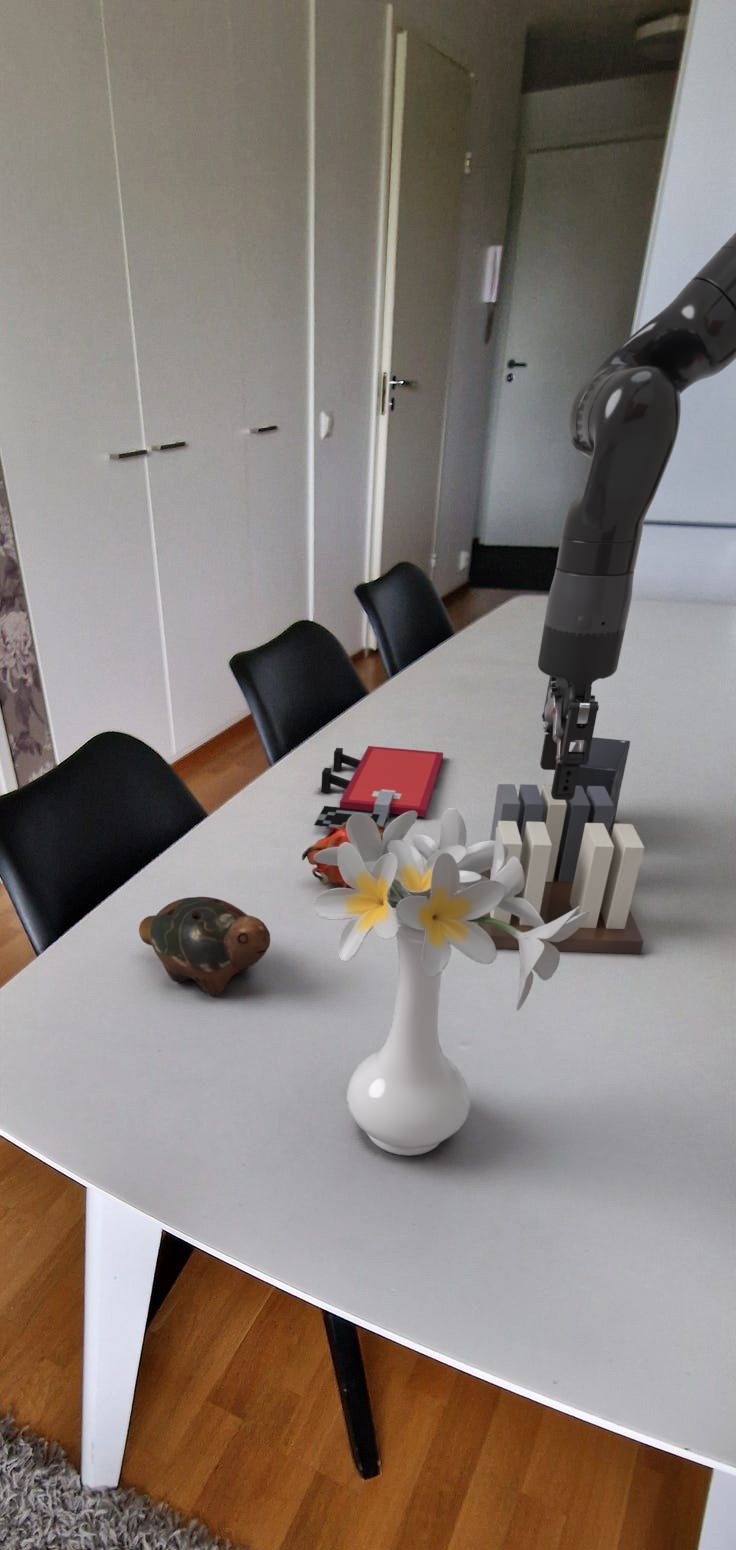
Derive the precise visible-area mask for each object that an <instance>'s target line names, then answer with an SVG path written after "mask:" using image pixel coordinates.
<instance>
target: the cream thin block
mask: <svg viewBox="0 0 736 1550" xmlns="http://www.w3.org/2000/svg"><path fill="white" fill-rule="evenodd" d="M551 790H552V784H542V787H541V792H540V796H541V799H542V801H543V804H544V805H543V811H542V816H541V822H545V825H546V829H547V832H548V835H549V838H550V841H551V844H552V848H551V854H550V859H549V865H548V870H547V876H546V882H553V878H554V872H555V867H556V862H557V856H558V851H559V845H560V840H561V835H562V829H563V824H564V819H565V813H566V808H567V804H566V801H565V800H555V799H553V798H552V795H551Z"/></svg>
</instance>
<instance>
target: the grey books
mask: <svg viewBox="0 0 736 1550" xmlns="http://www.w3.org/2000/svg"><path fill="white" fill-rule="evenodd" d="M565 801H566V804H567V808H566V813H565V819H564V824H563V829H562V835H561V840H560V845H559V851H558V856H557V862H556V867H555V872H556V876H557V879H558V882H574V877H575V872H576V867H577V862H578V857H579V852H580V848H581V843H582V838H583V833H584V828H585V823H604V825H605V828H606V830H607V832H608V833H609V828H610V823H611V819H612V814H613V810H614V805H613V803H612V801H611V799H610V797H609V794H608V792H607V790H606V788H605V786H588V787H587V792H586V794H585V792H584V790H583V787H582V786H576V788H575V793H574V797H573V798H572V799H571V800H565ZM543 805H544V804H543V801H542V799H541V792H540V790H539V787H538V785H537V784H523V783H522V784H520V785H519V790H518V792H517V789H516V785H515V784H514V783H498V784H497V788H496V796H495V802H494V809H493V810H494V811H493V818H492V825H491V831H490V832H491V833H490V839H489V841H495V836H496V827H498V821H516V823H517V827H518V830H519V834H520V838H521V841H522V846H523V840H524V834H525V828H526V822H541V816H542V811H543ZM609 834H610V833H609ZM521 853H522V850H521ZM520 859H521V856H520ZM491 869H492V868H491ZM491 869H490V872H491Z"/></svg>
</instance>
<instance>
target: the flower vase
mask: <svg viewBox="0 0 736 1550" xmlns="http://www.w3.org/2000/svg"><path fill="white" fill-rule="evenodd" d="M441 817H442V818H441V822H440V830H439V831H440V834H439V842H437V841H436V840H435V839H434V838H433V837H431V836H429V835H426V834H422V833H419V834H415V835H414V836H413V837H412V844H411V843H410V842H407V841H405V840H403V839H404V838H405V837H406V835H408V832H409V831H410V830H411V828H412V827H413V825H414V824H415V822H416V820H417V818H418V816H417V812H416V811H408V812H406V813H404V814H399V816H396V817H395V818H394V819H393V820H392V821H391V822H390V823H388V825H387V826H386V828H384V829H385V831H384V833H383V839H382V840H381V837H380V833H379V830H378V827H377V826H376V823H375V822H374V820H373V819H372V818H371V817H370V816H368V815H367V814H364V813H356V814H353V815H351V817H349V819H348V821H347V825H346V832H347V836H348V839H349V841H350V843H351V844H350V843H348V842H344V843H342V844H341V845H340V847H332V848H328V849H324V850H322V851H320V852H318V853H317V854H315V855H314V860H315V861H316V862H318V863H322V864H328V865H335V866H338V867H339V870H340V873H341V875H342V878H343V879H344V881H345V882H346V883H347V884H348V885H349V886H350V887H352V888H354V889H349V888H344V887H336V888H335V887H334V888H330V889H326V890H324V891H322V892H321V893H320V894H318V895H317V896H316V897H315V899H314V900H313V902H312V910H313V912H314V913H315V915H316V916H318V917H319V918H322V919H325V920H330V921H331V920H332V921H339V920H349V921H347V922H346V923H345V924H344V926H343V928H342V929H341V932H340V935H339V939H338V944H337V953H338V957H339V959H340V961H342V962H345V963H346V962H349V961H350V960H352V959H353V958H354V957H355V956H356V954H357V953H358V952H359V950H360V948H361V946H362V944H363V943H364V941H365V939H366V937H367V936H368V934H369V933H370V932H371V931H373V933H374V934H375V935H376V936H378V938H381V939H384V940H391V939H393V938H395V937H396V944H397V953H398V974H397V976H398V977H397V985H396V991H395V992H396V993H395V1001H394V1009H393V1017H392V1021H391V1025H390V1030H389V1033H388V1035H387V1038H386V1039H385V1042H384V1043H383V1045H382V1046H381V1047H380V1048H379V1049H378V1050H376V1051H374V1052H373V1053H371V1054H369V1055H368V1056H367V1057H365V1059H363V1060H362V1061H361V1062H360V1063H359V1064H358V1065H357V1066H356V1067H355V1068H354V1071H353V1073H352V1074H351V1077H350V1079H349V1081H348V1083H347V1087H346V1098H345V1099H346V1101H345V1102H346V1105H347V1108H348V1112H349V1113H350V1116H351V1117H352V1119H353V1120H354V1121H355V1123H356V1124H357V1125H358V1127H359V1128H360V1129H361V1130H362V1131H363V1132H365V1133H366V1135H367V1136H368V1138H369V1139H370V1141H371V1142H372V1143H373V1144H375V1145H376V1146H377V1147H379V1148H380V1149H382V1150H384V1151H386V1152H388V1153H391V1154H395V1155H398V1156H409V1157H410V1156H418V1155H423V1154H427V1153H429V1152H431V1151H432V1150H435V1148H437V1147H438V1146H439V1145H440V1144H441V1143H443V1142H444V1141H445V1140H447V1139H449V1138H450V1137H452V1136H453V1135H454V1134H456V1133H457V1132H458V1131H459V1130H460V1128H462V1126H463V1125H464V1124H465V1122H466V1120H467V1118H468V1115H469V1113H470V1108H471V1099H470V1090H469V1086H468V1083H467V1081H466V1079H465V1077H464V1075H463V1073H462V1072H461V1070H460V1069H459V1068H458V1067H457V1066H456V1065H455V1064H454V1062H453V1061H452V1060H451V1059H449V1058H448V1057H447V1056H446V1055H444V1052H443V1049H442V1047H441V1042H440V1038H439V1012H440V1011H439V1010H440V1009H439V1008H440V996H441V985H442V975H443V972H444V970H445V969H446V968H447V966H448V964H449V961H450V959H451V956H452V947H454V948H455V949H457V950H458V951H459V952H461V954H463V955H465V957H467V958H469V959H470V960H472V961H474V962H476V963H479V964H481V965H482V964H483V965H490V964H493V963H494V961H496V959H497V956H498V951H497V948H496V947H495V945H494V942H493V940H492V939H491V937H490V936H489V935H488V934H487V932H486V931H485V930H483V929H482V928H481V927H480V926H478V925H477V924H475V923H474V922H476V923H484V924H489V925H493V926H495V927H498V928H500V929H502V930H504V931H506V932H508V933H509V934H511V935H512V936H513V937H515V938H516V939H518V941H519V949H518V951H519V953H518V954H519V979H518V980H519V982H518V993H517V1001H516V1011H520V1009H521V1008H522V1006H523V1005H524V1004H525V1002H526V1000H527V998H528V996H529V995H530V991H531V989H532V986H533V983H534V973H536V975H537V976H538V978H539V979H541V980H542V981H548V980H550V979H551V978H552V977H553V976H554V974H555V973H556V971H557V970H558V968H559V964H560V961H561V955H560V951H558V950H557V948H556V947H555V946H553V945H552V944H550V943H549V942H547V941H550V942H560V941H562V940H565V939H566V938H568V937H569V936H571V935H572V934H573V933H574V932H575V931H577V930H578V929H579V927H581V926H582V924H583V923H584V922H585V921H586V920H587V918H588V917H589V914H590V911H587V912H584V913H582V914H579V915H576V916H574V915H575V914H576V913H577V912H578V910H579V909H580V906H578V907H577V908H575V909H573V910H572V911H570V912H568V913H567V914H565V915H563V916H562V917H560V918H558V919H556V920H554V921H552V922H550V923H548V924H545V923H544V921H543V920H542V918H541V917H540V915H539V914H538V912H537V911H536V910H535V908H534V907H533V906H532V905H531V904H530V903H529V902H528V901H526V900H525V899H523V898H510V897H512V896H514V895H516V894H518V893H519V892H520V891H521V890H522V889H523V887H524V884H525V876H524V872H523V868H522V865H521V864H520V861H519V860H518V858H517V857H515V856H514V857H511V858H510V859H509V861H508V862H507V863H506V861H504V860H505V859H506V858H507V857H508V854H509V850H508V848H507V846H506V845H505V844H504V843H503V842H502V838H501V835H500V832H499V830H498V827H496V836H495V841H490V840H484V841H479V842H476V843H473V844H472V845H470V846H468V847H466V844H467V829H466V827H467V826H466V823H465V821H464V818H463V816H462V814H461V813H460V812H459V811H458V809H456V808H454V807H448V808H447V809H445V811H444V813H443V814H442V816H441ZM438 843H439V844H438ZM423 858H424V859H425V860H426V862H425V866H424V859H423ZM491 868H492V872H491V877H490V880H489V879H488V878H486V877H484V876H481V875H480V874H479V873H481V872H483V871H486V870H489V869H491ZM397 871H398V872H397ZM398 873H399V874H398ZM399 888H400V889H401V890H403V891H405V892H406V893H407V894H409V895H410V896H406V897H405V895H404V894H403V893H402V891H401V890H400V889H399ZM391 891H393V892H394V893H395V895H396V896H397V897H398V899H399V901H398V900H393V899H390V897H391ZM496 906H497V907H499V908H501V909H502V910H504V911H507V912H509V913H511V914H513V915H515V916H518V917H520V918H521V919H523V920H525V921H526V922H527V923H529V924H530V925H532V926H533V927H535V929H532V930H531V931H528V932H521V931H519V930H517V929H515V928H514V927H512V926H511V925H509V924H507V923H505V922H502V921H499V920H497V919H494V918H490V917H483V916H484V915H486V914H487V913H489V912H490V911H492V910H493V909H494V908H495V907H496ZM394 909H395V910H394ZM573 916H574V917H573ZM533 971H534V972H533Z"/></svg>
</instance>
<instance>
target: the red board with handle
mask: <svg viewBox="0 0 736 1550" xmlns="http://www.w3.org/2000/svg"><path fill="white" fill-rule="evenodd" d="M443 759H444V752H441V751H429V750H419V749H407V748H396V747H386V746H374V745H368V746H367V747H366V750H365V752H364V753H363V756H362V757H361V759H358V758H355V757H353V756H350V755H347V754H344V748H343V747H336V748H335V750H334V751H333V764H332V765H333V766H332V767H324V768H323V769H322V772H321V786H320V787H321V789H320V793H329V792H330V790H331V787H332V785H334V786H336V787H339V788H341V789H343V790H345V791H344V793H343V794H342V796H341V798H340V800H339V806H330V805H324V806H323V807H322V810H321V811H320V813H319V815H318V816H317V819H316V820H315V822H314V824H313V826H315V827H317V826H318V827H325V828H326V827H327V828H332V827H339V826H342V823H345V822H347V821H348V819H349V817H351V815H353V814H356V813H364V814H367V815H368V816H370V817H371V818H372V819H373V820H374V822H376V823H377V824H379V825H380V826H382V827H383V828H384V824H385V822H386V820H388V819H389V816H390V814H392V815H393V814H395V815H402V814H404V813H406V812H408V811H416V812H417V817H424V818H425V817H426V815H427V812H428V809H429V805H430V802H431V799H432V796H433V792H434V789H435V785H436V783H437V779H438V775H439V772H440V769H441V766H442V762H443ZM343 764H344V765H346V766H350V767H352V768H355V771H354V773H353V774H352V777H351V778H350V780H349V779H346V778H343V777H341V776H338V775H336V774H333V773H332V771H333V772H341V770H342V768H343Z"/></svg>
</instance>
